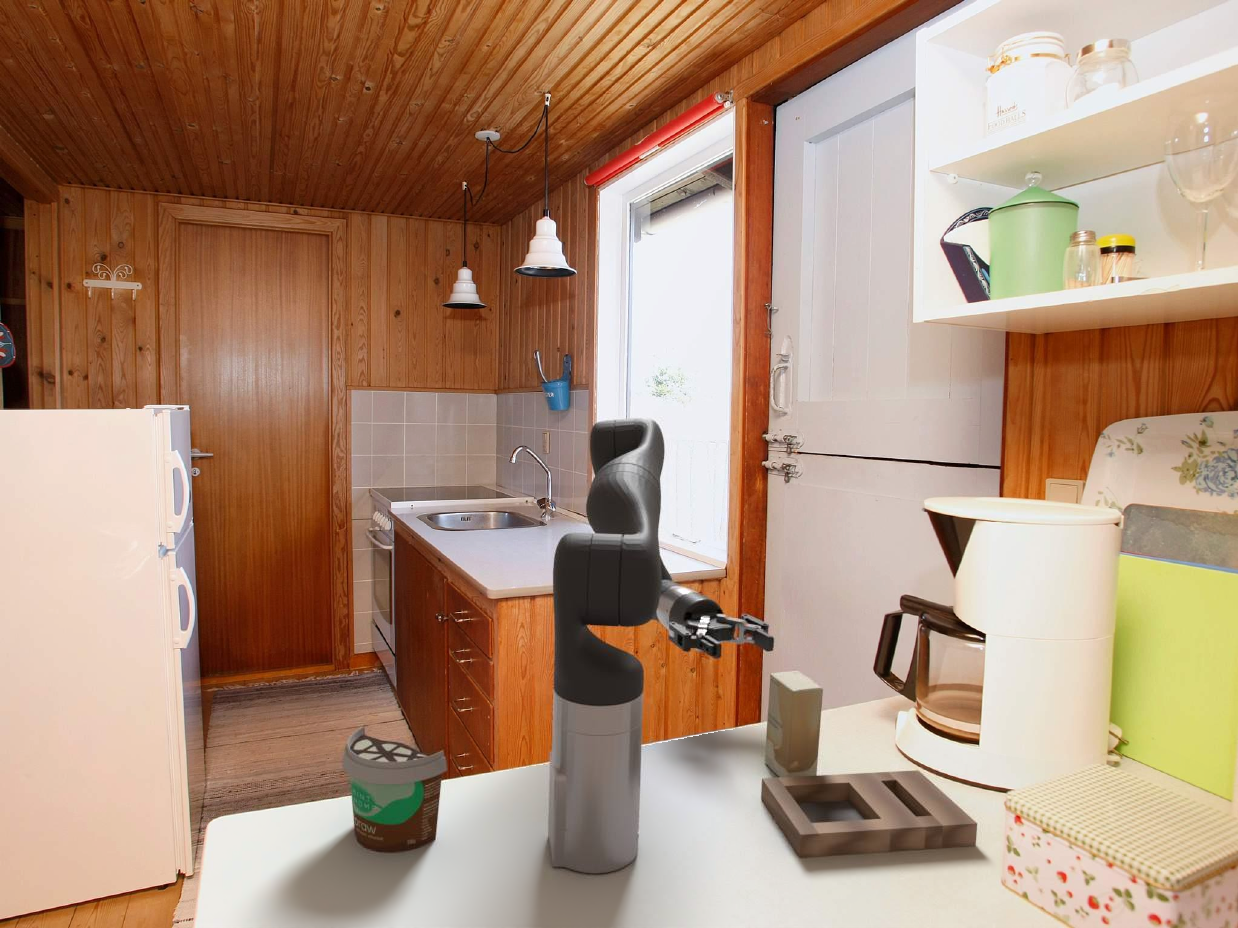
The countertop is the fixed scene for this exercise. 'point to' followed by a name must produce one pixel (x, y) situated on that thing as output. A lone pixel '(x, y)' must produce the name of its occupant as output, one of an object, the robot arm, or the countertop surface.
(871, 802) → the socket plate
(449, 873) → the countertop surface
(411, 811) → the food container
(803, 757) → the skincare box
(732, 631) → the robot arm
